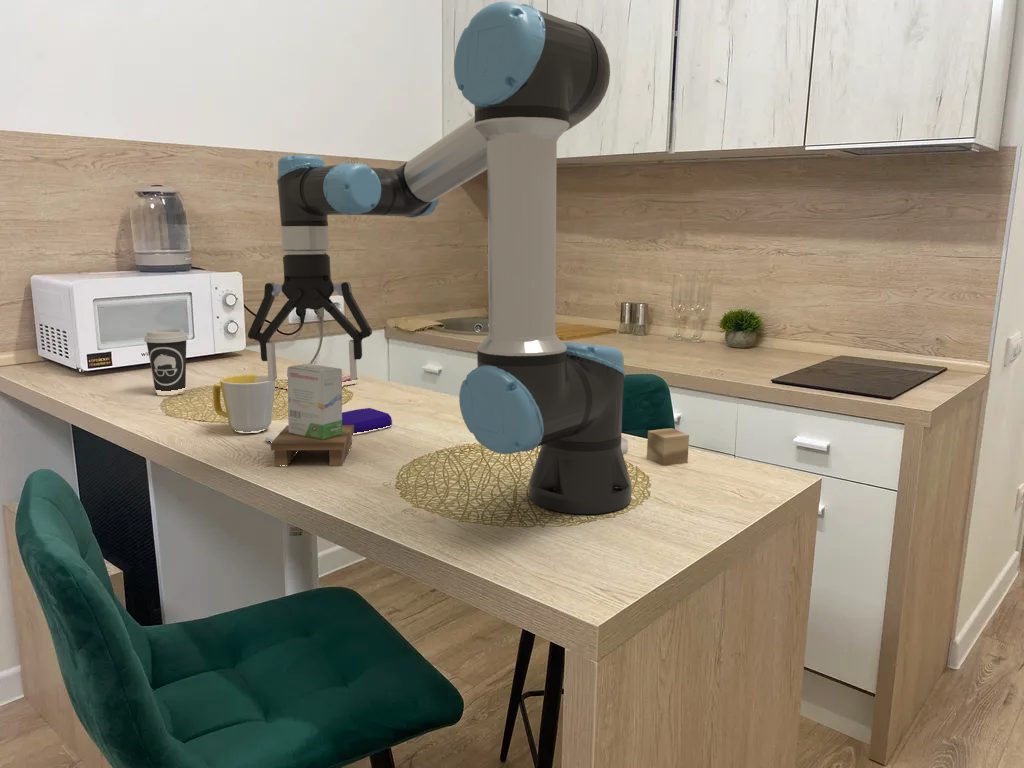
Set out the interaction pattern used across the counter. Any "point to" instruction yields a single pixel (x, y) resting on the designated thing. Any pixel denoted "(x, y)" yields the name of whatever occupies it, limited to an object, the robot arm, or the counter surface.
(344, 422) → the purple bottle shape
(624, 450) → the pale grey dome
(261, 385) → the mug
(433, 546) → the counter surface
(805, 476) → the counter surface
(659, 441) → the oak block
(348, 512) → the counter surface
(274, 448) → the stand
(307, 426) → the ink box
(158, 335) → the coffee cup
